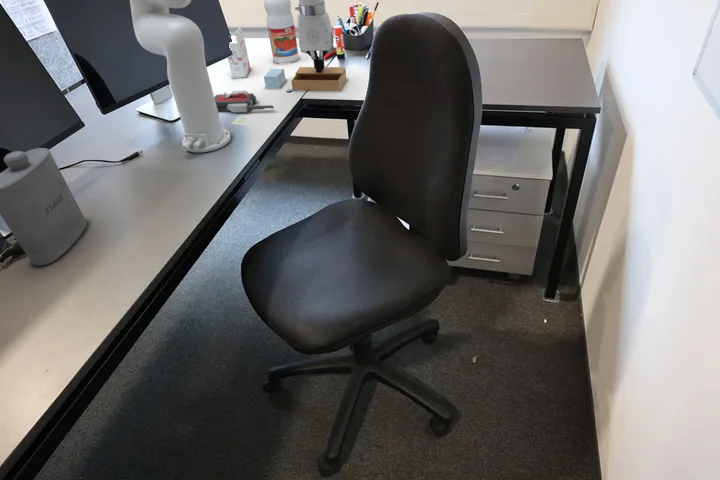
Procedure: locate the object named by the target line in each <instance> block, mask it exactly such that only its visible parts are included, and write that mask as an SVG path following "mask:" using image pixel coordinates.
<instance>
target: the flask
mask: <svg viewBox="0 0 720 480" xmlns="http://www.w3.org/2000/svg"><path fill="white" fill-rule="evenodd" d="M3 162H4V163H5V165H6V167H7V168H6V169H5V170H3V171H2V172H0V217H1V218H2V220H3V221H4V222H5V224H6V225H7V227H8V228H9V230H10V232H11V233H12V235H13V236H14V238H15V239H16V241H17V242H18V244H19V245H20V247H21V249H22V250H23V252H24V253H25V254H26V256H27V258H28V259H29V261H30V262H31V264H32V265H34V266H40V267H41V266H47V265H50V264H52V263H53V262H55V261H56V260H58V259H60V258H61V257H62V256H63V255H64V254H65V253H66V252H67V251H68V250H70V248H72V246H73V245H75V243H76V242H77V241H78V239H79V238H80V237H81V236H82V234H83V232H84V231H85V229H86V228H87V222H88V221H87V219H86V218H85V216H84V214H83V212H82V210H81V208H80V206H79V205H78V202H77V200H76V198H75V197H74V195H73V192H72V191H71V189H70V188H69V185H68V183H67V182H66V179H65V178H64V176H63V173H62V172H61V170H60V168H59V166H58V164H57V162H56V160H55V159H54V156H53V154H52V153H51V151H50V149H48V148H46V147H36V148H31V149H29V150H27V151H21V150H16V151H12V152H9V153H7V154H6V155H5V156H4V158H3Z"/></svg>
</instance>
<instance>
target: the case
mask: <svg viewBox="0 0 720 480" xmlns="http://www.w3.org/2000/svg"><path fill="white" fill-rule="evenodd" d="M263 80H264V85H265V86H264V87H265V88H266V89H279V88H281V86H282V85H283V84H284V83H285V82H286V80H287V79H286V73H285V69H284V68H270V69H269V70H268V71H267V72H266V73H265V75H263Z"/></svg>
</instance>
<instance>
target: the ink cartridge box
mask: <svg viewBox="0 0 720 480" xmlns="http://www.w3.org/2000/svg"><path fill="white" fill-rule="evenodd" d="M234 34H235V35H230V36H231V39H232V42H230V43H229V48H230V50H231V51H232V54H233V55H231V56H229V57H227V60H228V64H229V69H230V72H231V77H232V79H240V78H241V79H242V78H246V77H247V76H248V74H249V72H250V70H251V65H250V60H249V55H248V50H247V45H246V40H245V36H244V33H243V28H242V26H241V25H240V26H239V27H238V28H237V29H236V31H235V32H234Z"/></svg>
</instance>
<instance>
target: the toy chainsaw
mask: <svg viewBox="0 0 720 480" xmlns="http://www.w3.org/2000/svg"><path fill="white" fill-rule="evenodd" d="M214 98H215V102H216V106H217V109H218V112H226V111H227V112H228V111H229V112H232V113H248V111H252V110H253V111H254V110H265V109H274V105H270V104H269V105H254V104H256V103H257V96H256V95H255V94H254V92H253V93H251V92H250V93H249V92H248V91H247V90H233V91H232V92H231V93H227V92H226V91H225V92H224V93H220V94H216V95H214Z"/></svg>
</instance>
